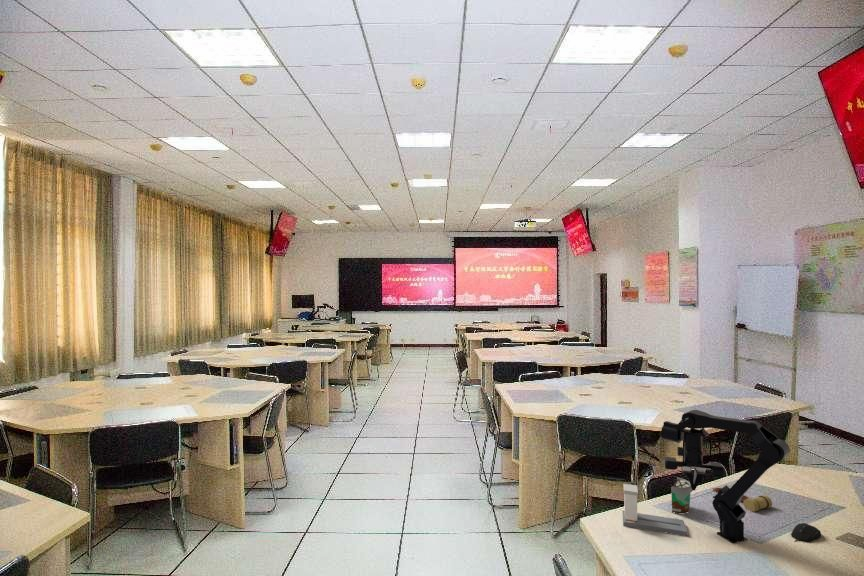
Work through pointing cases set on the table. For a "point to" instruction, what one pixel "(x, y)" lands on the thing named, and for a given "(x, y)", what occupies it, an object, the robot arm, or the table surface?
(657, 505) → the table surface
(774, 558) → the table surface
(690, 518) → the table surface
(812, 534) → the gaming mouse
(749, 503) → the gavel
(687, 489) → the food container
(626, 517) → the fader knob
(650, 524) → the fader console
